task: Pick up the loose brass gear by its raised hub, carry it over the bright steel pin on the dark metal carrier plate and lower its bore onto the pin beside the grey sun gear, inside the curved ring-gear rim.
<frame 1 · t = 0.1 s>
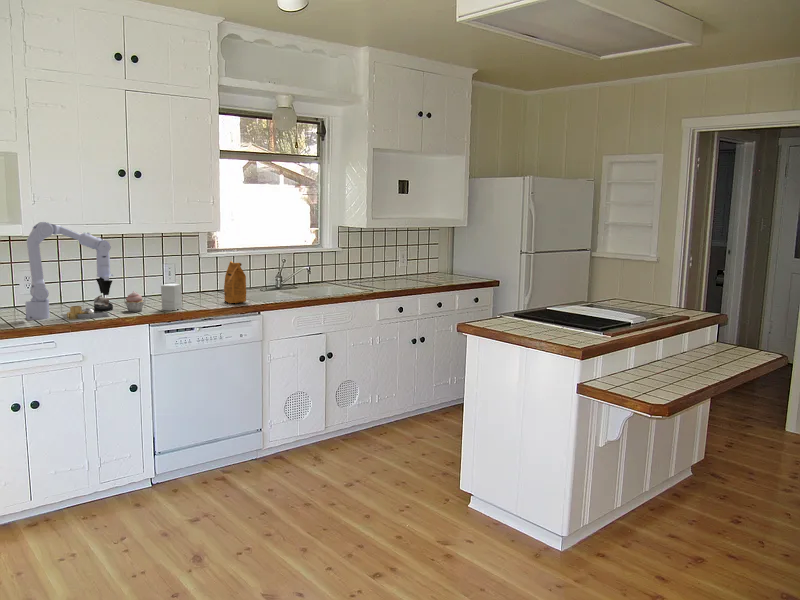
hand: (104, 294, 320), 10 cm above the counter, tool pointing down, fingers open, 7 cm apart
cupcake: (134, 311, 334), on the counter
caster wheel: (104, 312, 332), on the counter
coffee package: (235, 302, 367), on the counter
planet gear: (76, 316, 311), point 1 cm above the counter, touching carrier
carrier: (85, 317, 314), on the counter
supplement box: (172, 309, 341), on the counter
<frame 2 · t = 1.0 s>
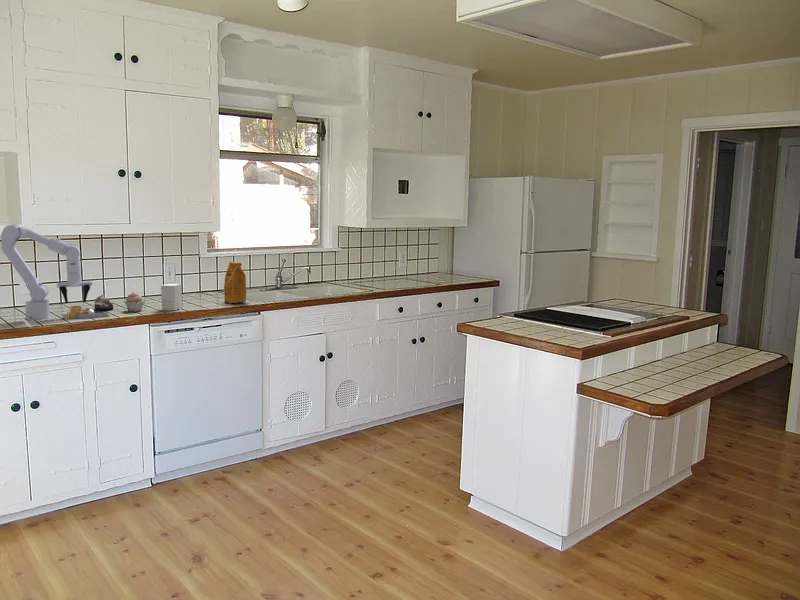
hand: (75, 302, 310), 8 cm above the counter, tool pointing down, fingers open, 7 cm apart
nothing on the counter moved.
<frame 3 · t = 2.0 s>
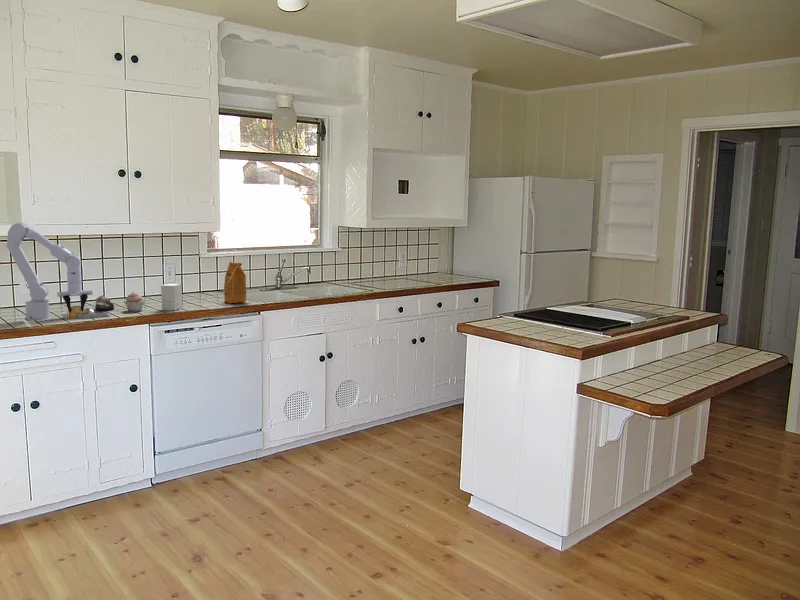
hand: (76, 311, 311), 3 cm above the counter, tool pointing down, fingers closed on planet gear, 5 cm apart
planet gear: (76, 316, 311), point 1 cm above the counter, touching carrier, gripper
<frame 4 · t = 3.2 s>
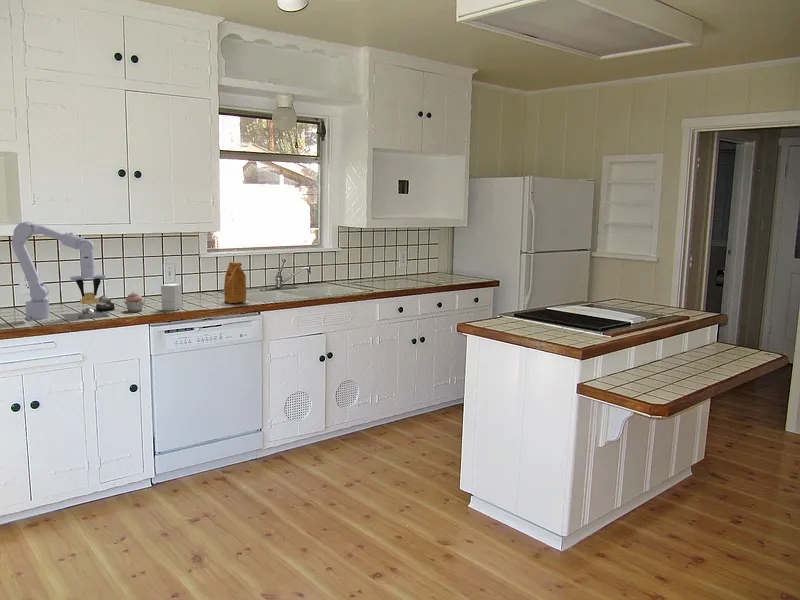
hand: (89, 295, 311), 10 cm above the counter, tool pointing down, fingers closed on planet gear, 5 cm apart
planet gear: (89, 303, 312), point 7 cm above the counter, touching gripper
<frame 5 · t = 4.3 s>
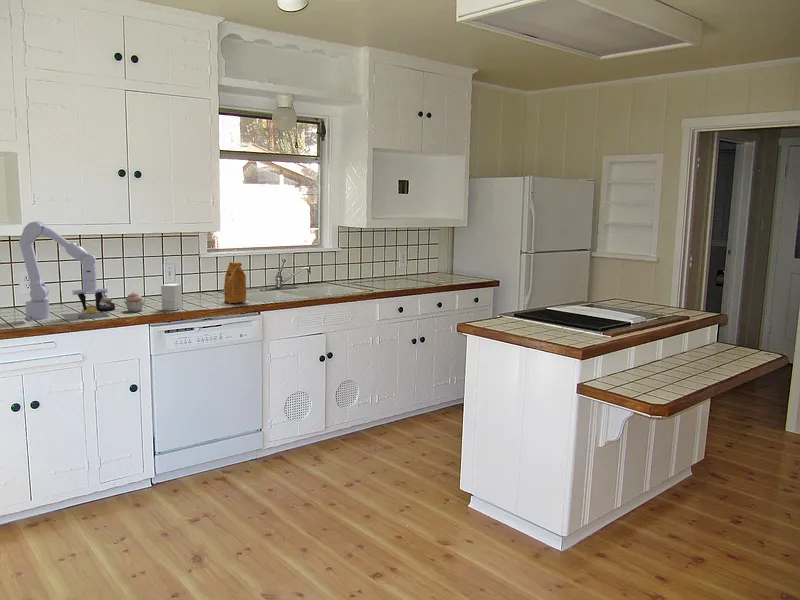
hand: (91, 309, 312), 4 cm above the counter, tool pointing down, fingers closed on planet gear, 5 cm apart
planet gear: (91, 316, 313), point 1 cm above the counter, touching carrier, gripper
when the fingers open (4 cm above the counter, at t = 4.7 s): planet gear stays where it is, resting on carrier.
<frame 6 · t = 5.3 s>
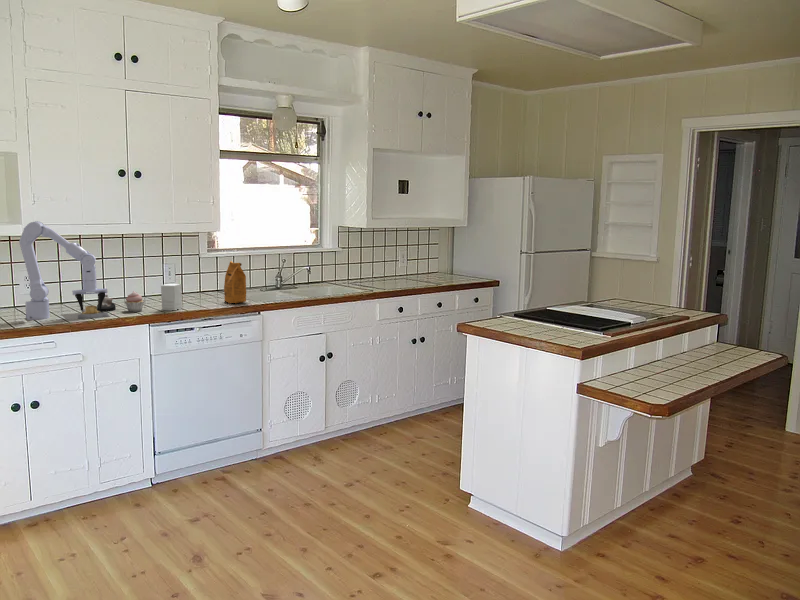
hand: (91, 309, 312), 4 cm above the counter, tool pointing down, fingers open, 7 cm apart
planet gear: (91, 316, 313), point 1 cm above the counter, touching carrier
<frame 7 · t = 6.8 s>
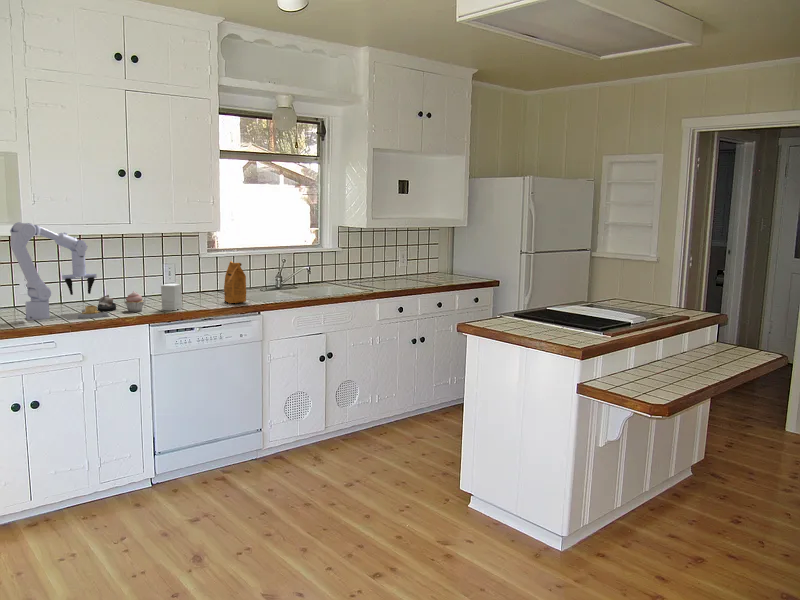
hand: (80, 294, 320), 10 cm above the counter, tool pointing down, fingers open, 7 cm apart
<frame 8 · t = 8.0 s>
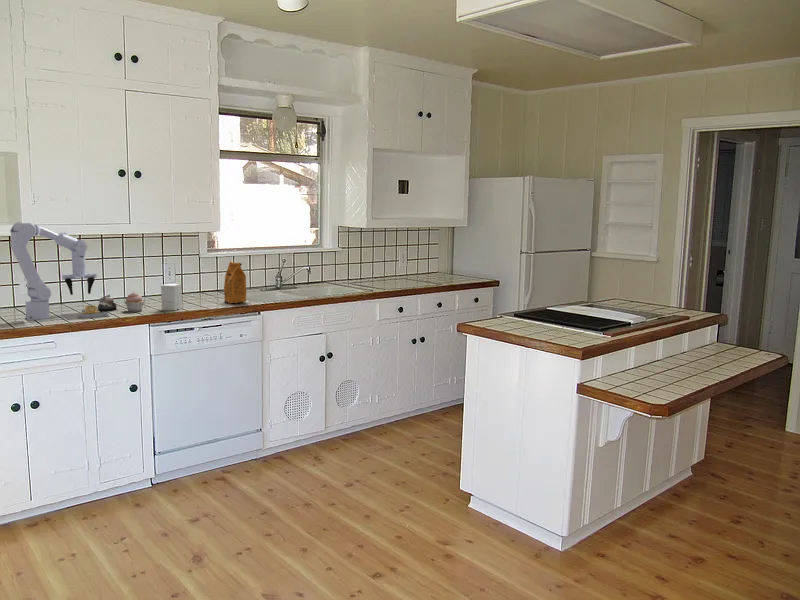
hand: (80, 294, 320), 10 cm above the counter, tool pointing down, fingers open, 7 cm apart
at the end: planet gear 0.0 cm from the target spot on the carrier, point 1.0 cm above the carrier's base; the gripper is holding nothing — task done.
